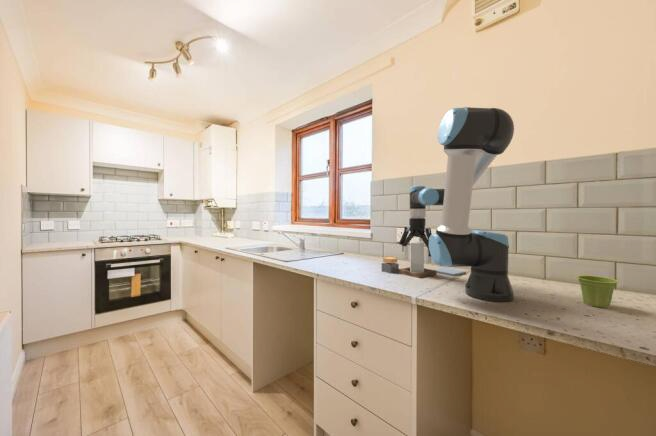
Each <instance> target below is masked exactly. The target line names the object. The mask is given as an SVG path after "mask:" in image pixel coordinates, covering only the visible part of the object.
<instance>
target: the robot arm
mask: <svg viewBox="0 0 656 436" xmlns="http://www.w3.org/2000/svg"><path fill="white" fill-rule="evenodd" d="M514 133H515V125H514V120H513V118H512V116H511V115H510V114H509V113H508V112H507V111H505V110H504V109H501V108H498V107H496V108H495V107H489V108H488V107H470V106H469V107H467V106H466V107H465V106H464V107H454V108H451V109H449V110H448V111H447V112H446V113H445V114H444V116H443V118H442V119H441V121H440V125H439V127H438V130H437V139H438V143H439V144H440V145H441V146H443V152H444V153H445V154H446V156H447V162H446V172H445V183H444V188H432V187H426V186H425V185H413V186H410V187H409V211H408V212H409V215H408V216H409V219H408V220H409V223H408V225H409V226H404V230H403V232H402V235H401V238H400V240H399V245H401V246H402V253H403V254H402V255H403V256H402V257H403V258H402V260H408V259H409V245H408V244H410V242H411V240H412V239H413V238H414V237H415V238H416V237H417V238H420V239H421V241H422V242H423V243H424V244H425V245H424V246H426V248H427V249H426V261H425V262H426V264H427V265H428V264H431V263H432V261H433V263H434V264H435V265H436V266H439V267H444V268H451V267H453V268H456V267H457V268H458V267H459V268H460V267H463V268H464V267H466V268H467V267H470V273H469V277H468V278H467V281H466V284H465V286H464V287H465V289H464V291H465V294H466V295H467V296H469V297H472V298H475V299H480V300H484V301H491V302H511V301H513V300H514V299H515V297H514V296H515V293H514V289H513V285H512V284H511V280H510V278H509V248H510V244H509V237H508V236H507V235H506V234H505V233H500V232H499V233H498V232H492V231H483V230H475V229H471V228H470V227H469V220H470V212H471V204H472V196H473V195H472V194H473V187H474V185H475V184H476V183H477V182H478V180H479V179H480V177H482V175H483V174H484V173H485V172H486V170H487V169H488V168H489V166H490V165H492V164H491V163H492V162H493V161H494V160H495V158H497V156H500V155H503V153H504V152H505V151H506V150H507V149H508V147H509V146H510V145H511V144H510V143H511V142H512V139H513V137H514ZM427 206H442V216H441V224H439V225H438V226H437V227H436V228H435V229H436V231H435V233H432V228H431V227H429V228H428V227H427V228H426V227H425V226H426V221H427V220H426V211H427V210H426V209H427V208H426V207H427Z"/></svg>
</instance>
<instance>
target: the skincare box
mask: <svg viewBox="0 0 656 436" xmlns="http://www.w3.org/2000/svg"><path fill="white" fill-rule="evenodd" d="M424 244H425V243H424V242H423V241H410V242H409V267H410V271H411V272H416V273H422V272H424V268H425V261H424V260H425V252H424V251H425V248H424V247H425V245H424Z"/></svg>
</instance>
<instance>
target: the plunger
mask: <svg viewBox="0 0 656 436" xmlns="http://www.w3.org/2000/svg"><path fill="white" fill-rule="evenodd" d="M382 263H388V264H392V263H398V257H393V256H388V257H387V256H386V257H383V258H382Z"/></svg>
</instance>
